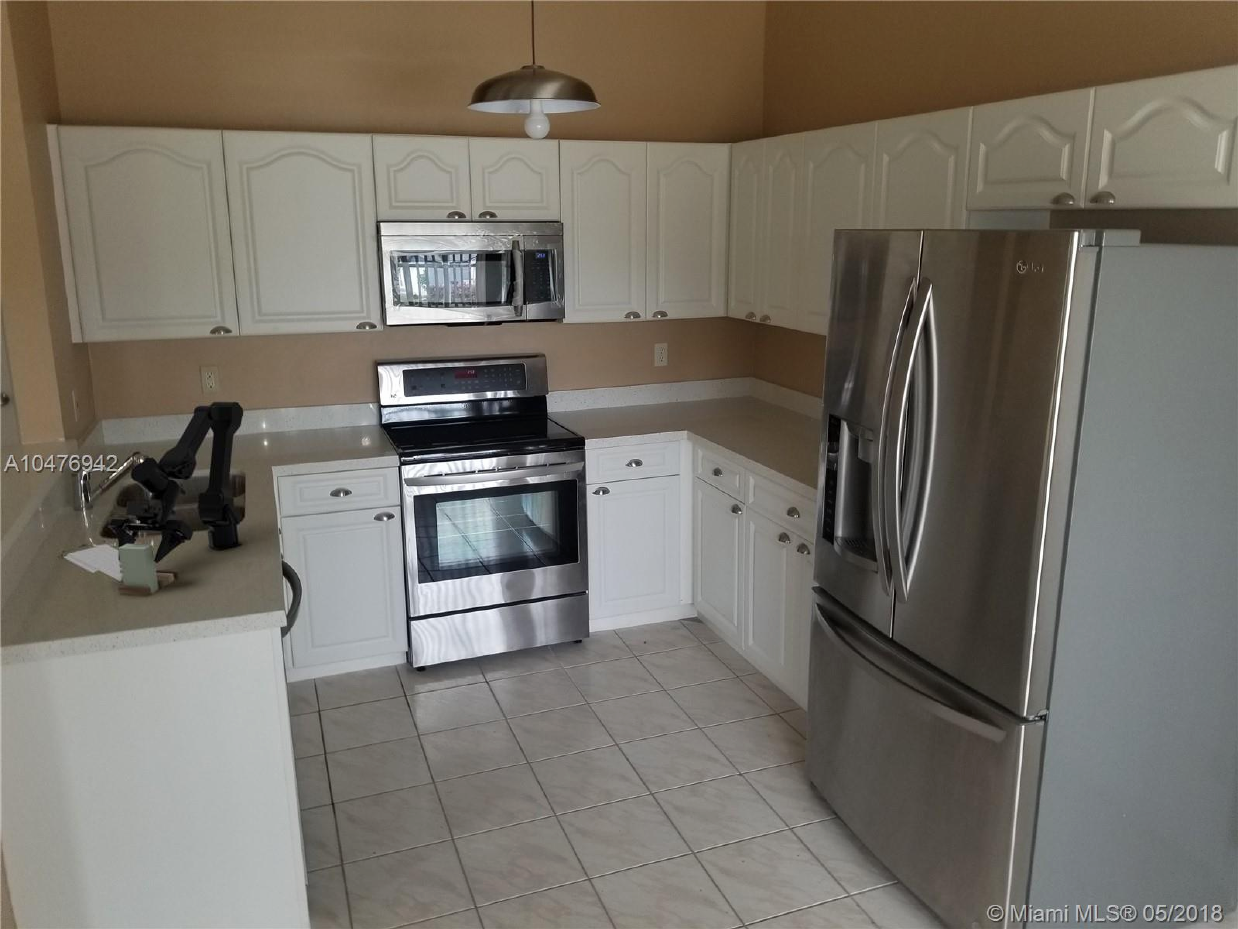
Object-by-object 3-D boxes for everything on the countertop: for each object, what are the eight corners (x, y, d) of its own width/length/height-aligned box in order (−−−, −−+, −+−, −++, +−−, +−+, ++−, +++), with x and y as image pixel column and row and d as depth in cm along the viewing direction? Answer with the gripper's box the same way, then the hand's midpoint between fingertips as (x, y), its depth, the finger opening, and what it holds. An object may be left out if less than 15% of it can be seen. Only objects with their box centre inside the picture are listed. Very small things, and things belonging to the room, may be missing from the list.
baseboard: (109, 589, 221) (159, 575, 230) (107, 578, 221) (157, 564, 230) (57, 561, 240) (106, 549, 249) (56, 551, 240) (104, 539, 249)
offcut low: (150, 578, 224) (149, 575, 224) (174, 579, 223) (173, 576, 223) (139, 584, 220) (138, 581, 220) (163, 586, 219) (163, 582, 219)
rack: (152, 579, 226) (150, 569, 225) (180, 580, 225) (179, 570, 224) (119, 597, 215) (118, 587, 214) (149, 599, 214) (147, 588, 213)
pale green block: (133, 587, 219) (126, 543, 216) (158, 589, 218) (152, 544, 215) (125, 592, 216) (118, 548, 213) (150, 593, 215) (143, 549, 212)
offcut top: (149, 575, 224) (149, 572, 224) (173, 576, 223) (173, 573, 223) (138, 581, 220) (138, 578, 220) (163, 582, 219) (162, 579, 219)
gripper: (107, 484, 218) (80, 544, 210) (179, 487, 215) (154, 548, 207) (134, 507, 227) (109, 565, 219) (203, 510, 224) (181, 568, 216)
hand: (137, 561), depth 215 cm, fingers open, 9 cm apart
